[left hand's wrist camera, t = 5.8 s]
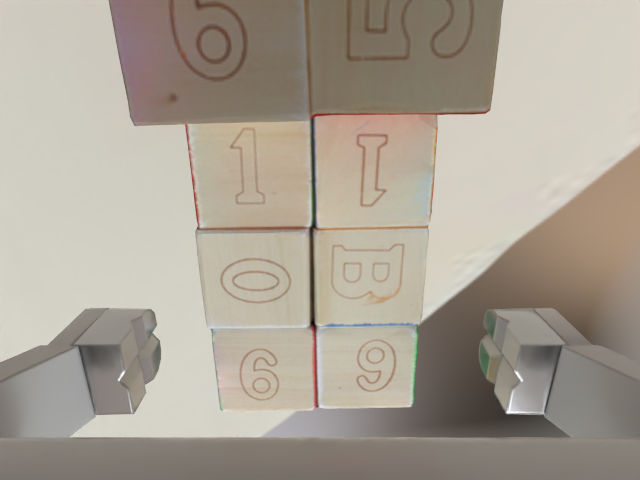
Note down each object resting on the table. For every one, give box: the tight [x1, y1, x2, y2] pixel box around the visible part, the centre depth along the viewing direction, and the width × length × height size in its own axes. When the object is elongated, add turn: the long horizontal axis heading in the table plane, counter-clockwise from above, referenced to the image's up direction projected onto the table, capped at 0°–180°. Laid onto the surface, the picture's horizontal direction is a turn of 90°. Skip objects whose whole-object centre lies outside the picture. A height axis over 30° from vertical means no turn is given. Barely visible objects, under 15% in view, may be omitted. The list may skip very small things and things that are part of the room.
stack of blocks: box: [109, 0, 503, 411], centre depth 12 cm, size 21×6×12 cm, turn 0°
